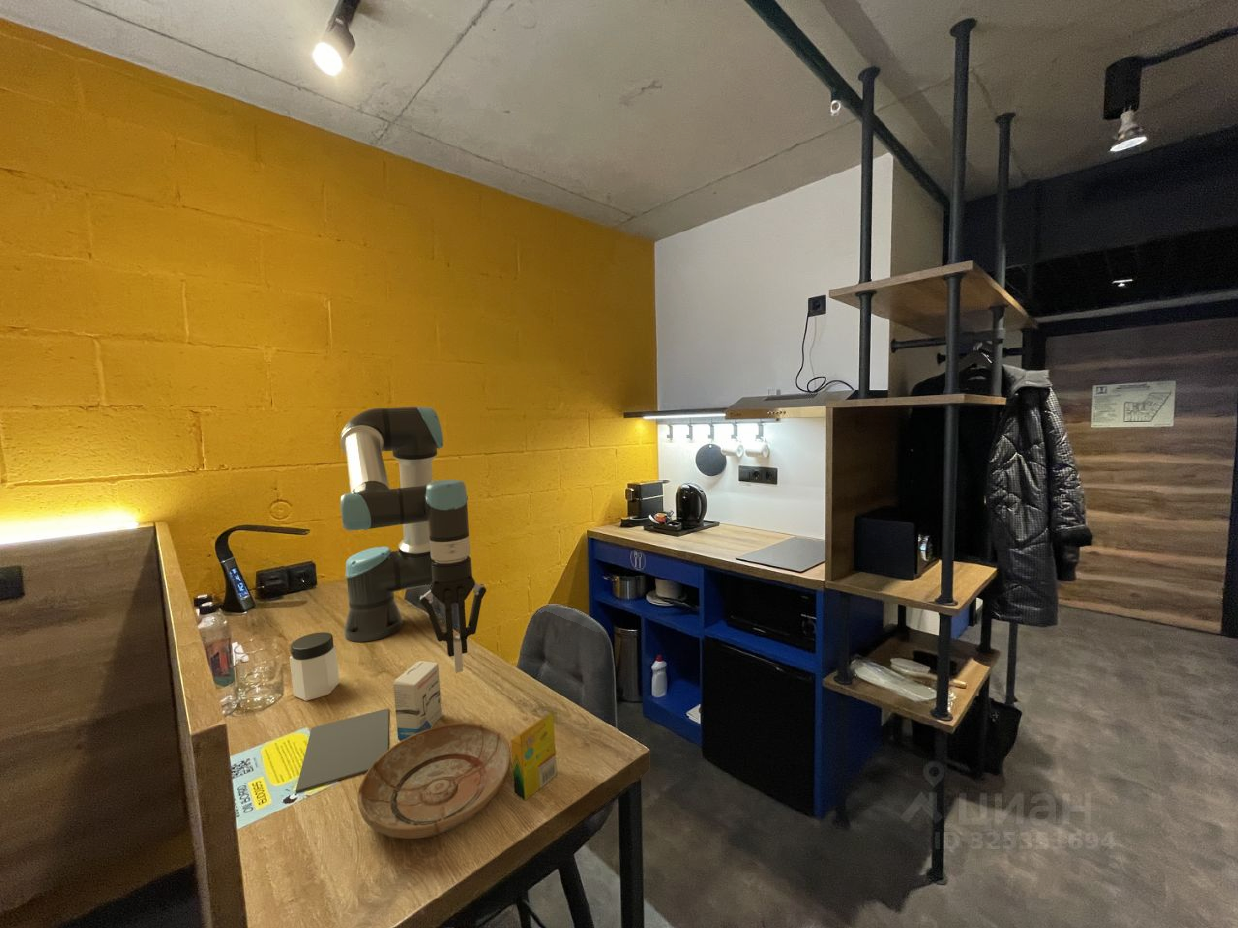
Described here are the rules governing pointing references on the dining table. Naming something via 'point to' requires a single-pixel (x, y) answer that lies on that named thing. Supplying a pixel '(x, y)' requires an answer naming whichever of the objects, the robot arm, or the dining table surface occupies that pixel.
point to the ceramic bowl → (434, 780)
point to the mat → (343, 749)
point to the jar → (314, 666)
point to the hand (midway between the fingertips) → (458, 668)
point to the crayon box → (534, 757)
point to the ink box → (417, 699)
